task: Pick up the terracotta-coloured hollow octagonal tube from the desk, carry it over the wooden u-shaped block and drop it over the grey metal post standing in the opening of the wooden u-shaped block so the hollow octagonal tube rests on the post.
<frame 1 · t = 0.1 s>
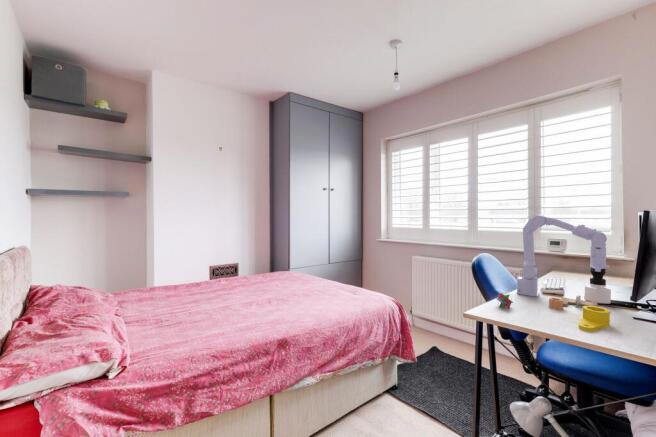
hand: (597, 283, 148), 10 cm above the table, tool pointing down, fingers open, 4 cm apart
geometric puzzle: (504, 307, 146), on the table
wooden u-shaped block: (578, 305, 148), on the table
hollow octagonal tube: (555, 307, 145), on the table
medicine bottle: (597, 302, 152), on the table, touching gripper
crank: (591, 326, 123), on the table
post: (578, 307, 145), on the table
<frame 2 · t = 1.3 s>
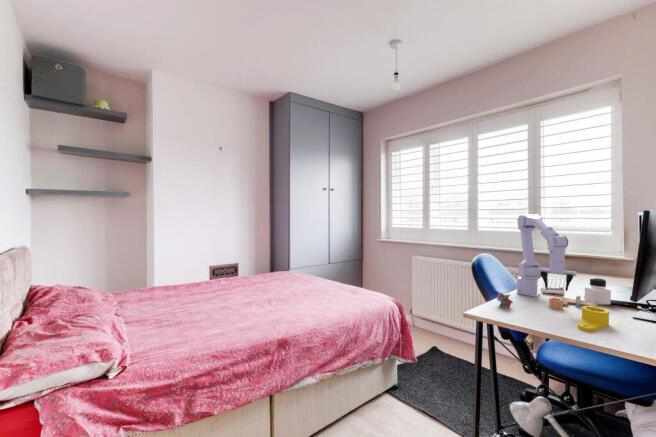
hand: (556, 289, 144), 9 cm above the table, tool pointing down, fingers open, 7 cm apart
medicine bottle: (597, 302, 152), on the table
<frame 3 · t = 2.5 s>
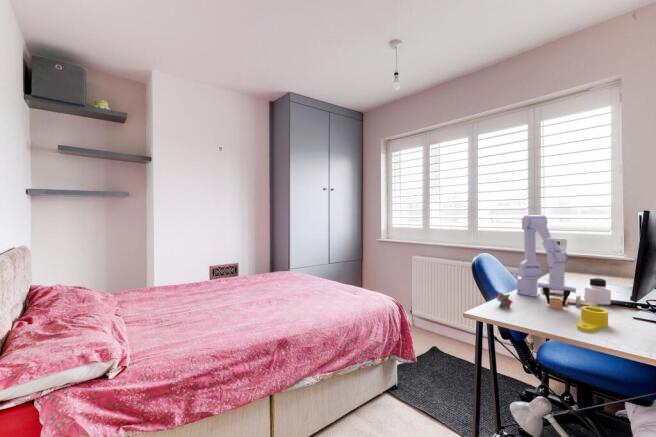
hand: (556, 304, 145), 1 cm above the table, tool pointing down, fingers closed on hollow octagonal tube, 5 cm apart
hollow octagonal tube: (555, 307, 145), on the table, touching gripper
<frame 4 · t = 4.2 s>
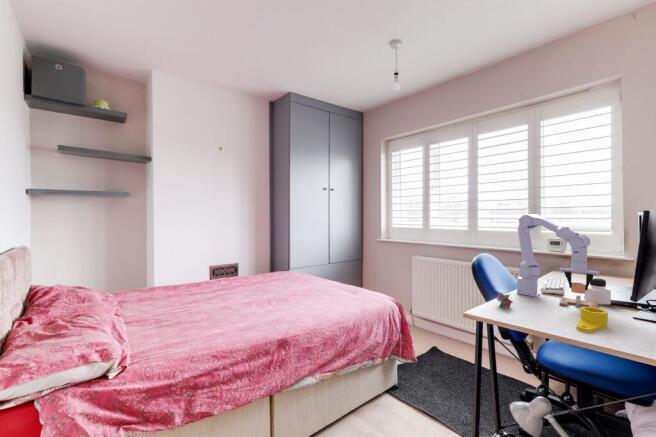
hand: (578, 288, 145), 9 cm above the table, tool pointing down, fingers closed on hollow octagonal tube, 5 cm apart
hollow octagonal tube: (578, 291, 145), point 7 cm above the table, touching gripper
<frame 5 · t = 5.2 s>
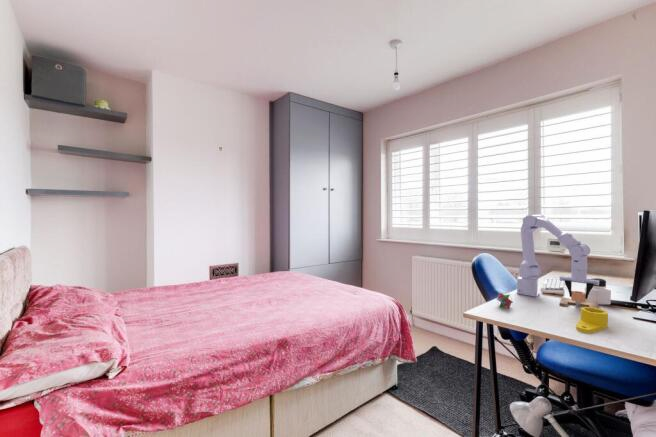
hand: (578, 297, 145), 5 cm above the table, tool pointing down, fingers closed on hollow octagonal tube, 5 cm apart
hollow octagonal tube: (578, 300, 145), point 3 cm above the table, touching gripper
when the fingers open (4 cm above the table, at t = 5.8 s): hollow octagonal tube drops 3 cm, resting on post.
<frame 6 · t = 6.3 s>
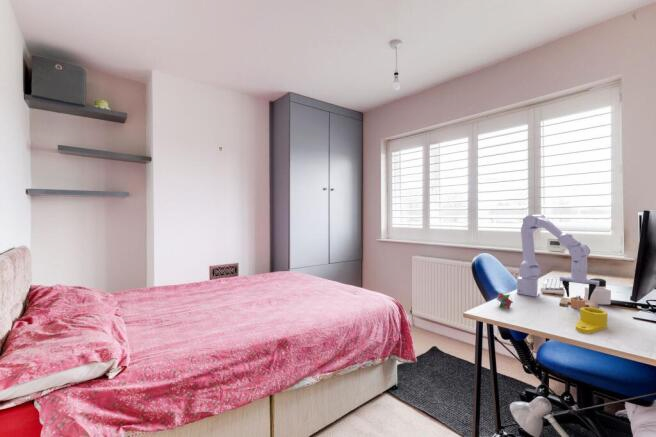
hand: (578, 298, 145), 4 cm above the table, tool pointing down, fingers open, 7 cm apart
hollow octagonal tube: (577, 306, 145), resting on post
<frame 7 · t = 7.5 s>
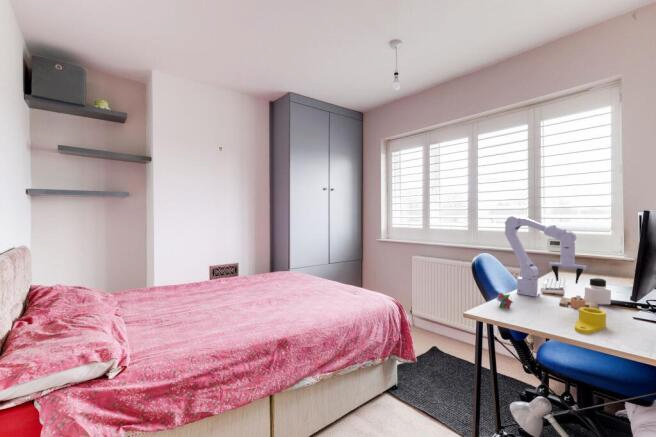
hand: (566, 281, 154), 10 cm above the table, tool pointing down, fingers open, 7 cm apart
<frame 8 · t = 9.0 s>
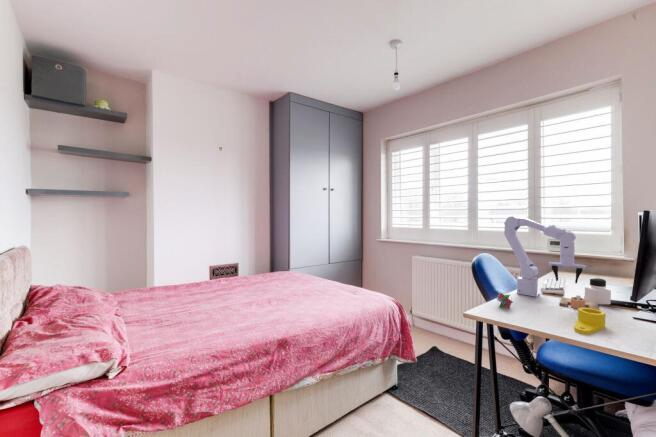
hand: (566, 281, 154), 10 cm above the table, tool pointing down, fingers open, 7 cm apart
at the end: hollow octagonal tube 0.6 cm off-centre on the post, point 0.2 cm above the post's base; the gripper is holding nothing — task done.
